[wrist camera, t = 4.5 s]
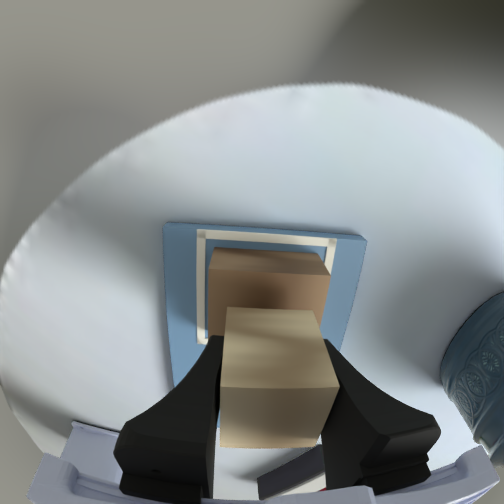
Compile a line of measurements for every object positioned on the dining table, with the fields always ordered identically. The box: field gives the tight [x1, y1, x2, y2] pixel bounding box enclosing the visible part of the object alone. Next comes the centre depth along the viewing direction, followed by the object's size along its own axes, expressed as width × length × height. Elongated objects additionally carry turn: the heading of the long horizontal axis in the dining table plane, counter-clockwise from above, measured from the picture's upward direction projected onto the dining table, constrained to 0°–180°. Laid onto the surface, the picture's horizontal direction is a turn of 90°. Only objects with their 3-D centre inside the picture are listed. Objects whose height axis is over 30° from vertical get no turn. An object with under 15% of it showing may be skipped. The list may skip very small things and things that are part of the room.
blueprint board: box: [163, 222, 367, 428], centre depth 21 cm, size 12×18×1 cm, turn 176°
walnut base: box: [208, 247, 331, 340], centre depth 17 cm, size 6×6×3 cm
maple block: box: [220, 307, 340, 448], centre depth 12 cm, size 4×4×5 cm
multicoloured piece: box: [257, 444, 326, 500], centre depth 28 cm, size 11×4×15 cm
